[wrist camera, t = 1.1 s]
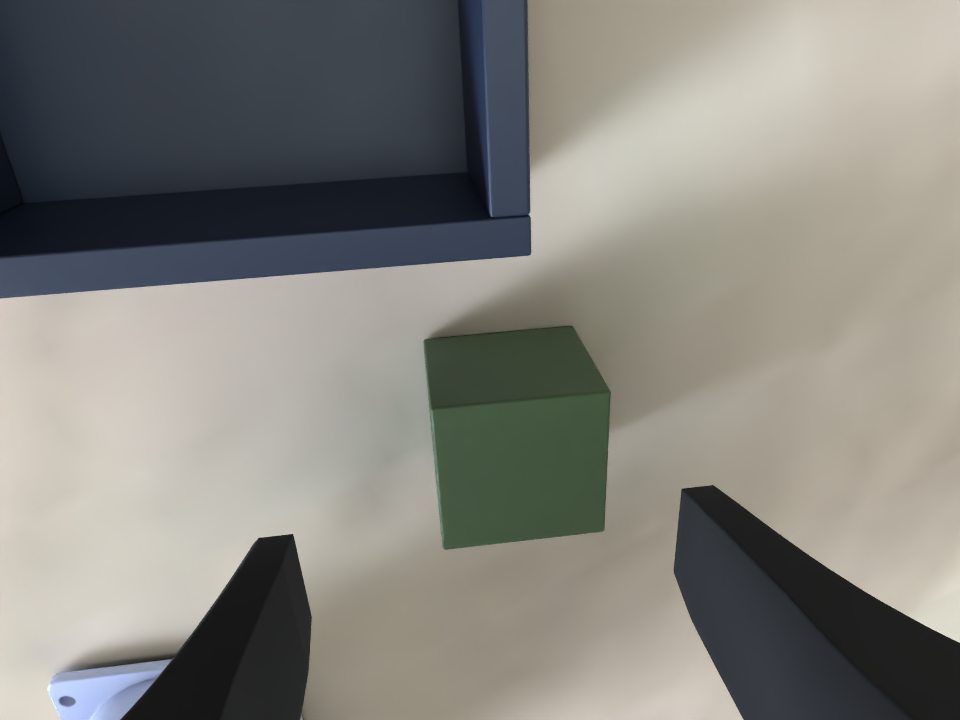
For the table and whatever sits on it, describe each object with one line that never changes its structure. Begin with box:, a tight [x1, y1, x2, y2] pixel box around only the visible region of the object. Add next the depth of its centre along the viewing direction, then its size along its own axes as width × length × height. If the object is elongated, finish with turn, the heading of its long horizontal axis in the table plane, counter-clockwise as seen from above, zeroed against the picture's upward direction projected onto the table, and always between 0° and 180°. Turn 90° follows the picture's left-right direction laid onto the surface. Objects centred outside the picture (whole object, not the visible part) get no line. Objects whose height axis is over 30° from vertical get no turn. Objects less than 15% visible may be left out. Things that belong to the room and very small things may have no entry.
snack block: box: [424, 326, 611, 550], centre depth 19 cm, size 4×4×4 cm
